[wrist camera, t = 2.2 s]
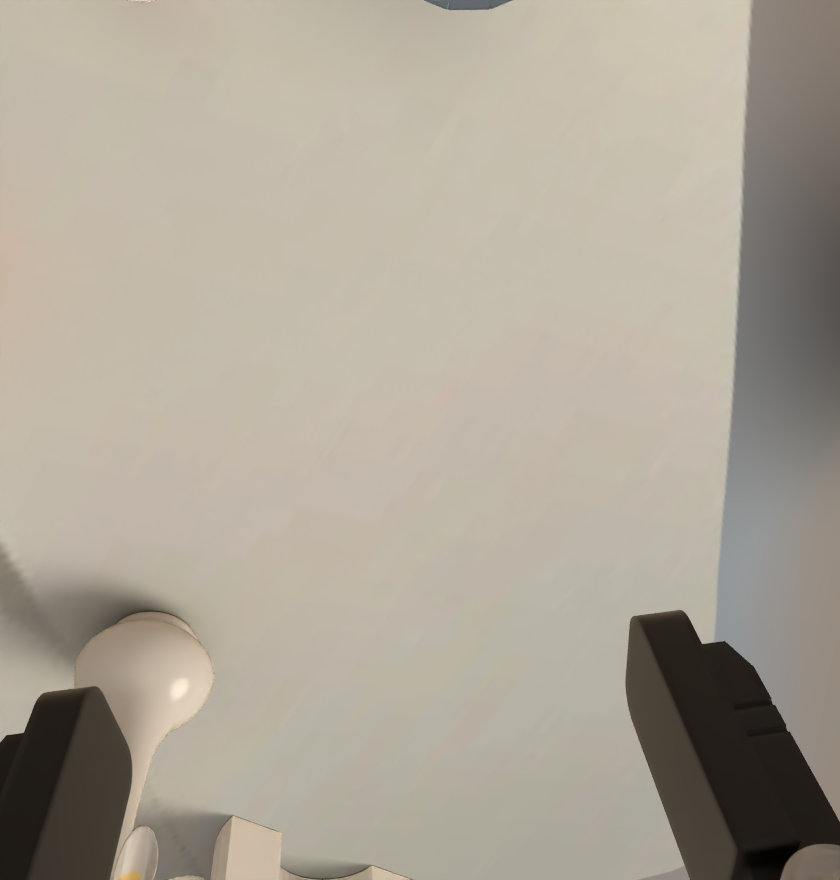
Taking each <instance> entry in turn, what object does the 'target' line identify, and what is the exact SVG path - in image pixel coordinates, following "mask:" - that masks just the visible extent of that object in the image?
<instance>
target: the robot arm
mask: <svg viewBox="0 0 840 880" xmlns="http://www.w3.org/2000/svg"><path fill="white" fill-rule="evenodd" d="M626 695H627V701H628V707H629V711H630V715H631V718H632V722H633V725H634V727H635V730H636V733H637V736H638V738H639V741H640V744H641V747H642V749H643V752H644V755H645V758H646V760H647V763H648V766H649V768H650V771H651V774H652V777H653V779H654V782H655V785H656V788H657V790H658V793H659V796H660V798H661V801H662V804H663V807H664V809H665V812H666V815H667V818H668V820H669V823H670V826H671V829H672V831H673V834H674V837H675V839H676V842H677V845H678V848H679V850H680V853H681V856H682V859H683V861H684V864H685V867H686V869H687V872H688V875H689V878H690V880H840V822H839V820H838V818H837V816H836V814H835V813H834V811H833V809H832V807H831V805H830V804H829V802H828V800H827V798H826V796H825V794H824V793H823V791H822V789H821V787H820V786H819V784H818V782H817V780H816V778H815V776H814V775H813V773H812V771H811V769H810V767H809V766H808V764H807V762H806V760H805V758H804V757H803V755H802V753H801V751H800V749H799V748H798V746H797V744H796V742H795V740H794V739H793V737H792V735H791V733H790V732H788V731H787V729H786V724H785V722H784V720H783V719H782V717H781V715H780V713H779V712H778V710H777V708H776V706H775V705H773V704H772V701H771V697H770V695H769V693H768V692H767V690H766V688H765V686H764V684H763V682H762V681H761V679H760V677H759V675H758V673H757V672H756V670H755V668H754V667H753V666H752V665H751V664H750V663H749V662H748V661H747V660H745V659H744V658H743V657H742V656H741V655H740V654H739V653H737V652H736V651H735V650H734V649H733V648H732V647H731V646H730V645H728V644H727V643H726V642H725V641H723V642H715V643H708V644H702V643H701V641H700V639H699V637H698V635H697V633H696V631H695V629H694V627H693V625H692V623H691V621H690V620H689V618H688V616H687V615H686V613H685V612H684V611H682V610H677V611H669V612H662V613H654V614H647V615H639V616H633V617H632V618H631V621H630V629H629V642H628V655H627V668H626ZM131 784H132V759H131V753H130V749H129V746H128V744H127V742H126V740H125V738H124V736H123V733H122V731H121V729H120V727H119V725H118V723H117V721H116V719H115V717H114V715H113V713H112V711H111V709H110V707H109V705H108V703H107V701H106V698H105V696H104V694H103V693H102V691H101V690H100V688H98V687H97V686H91V687H83V688H76V689H68V690H61V691H53V692H46V693H43V694H42V695H41V696H40V697H39V698H38V700H37V701H36V703H35V705H34V708H33V710H32V713H31V716H30V718H29V721H28V724H27V726H26V729H25V732H24V733H20V734H13V735H6V736H5V738H4V739H3V740H2V741H1V743H0V880H110V876H111V872H112V868H113V863H114V859H115V855H116V850H117V846H118V842H119V838H120V833H121V829H122V825H123V821H124V816H125V812H126V808H127V803H128V799H129V795H130V790H131Z"/></svg>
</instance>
